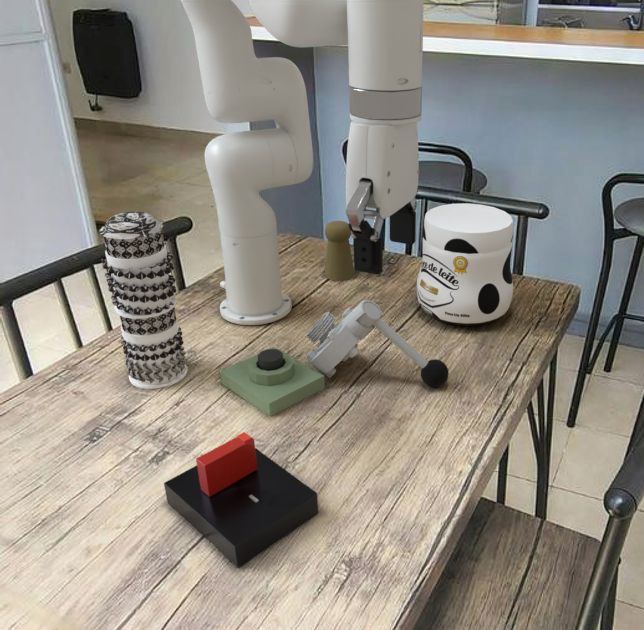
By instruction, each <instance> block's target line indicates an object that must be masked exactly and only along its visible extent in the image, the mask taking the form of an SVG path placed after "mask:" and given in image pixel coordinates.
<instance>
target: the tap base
mask: <svg viewBox="0 0 644 630" xmlns="http://www.w3.org/2000/svg"><path fill="white" fill-rule="evenodd" d="M255 452H256V461H257V470H255V471H254V472H252V473H250V474H248V475H247V476H245V477H243V478H242V479H240V480H238V481H236V482H235V483H233V484H231V485H230V486H228V487H226V488H224V489H223V490H221V491H219V492H217V493H216V494H214V495H212V496H211V497H209V496H208V495H207V494H205V493H204V492H203V491H202V490H201V487H200V481H199V474H198V468H197V465H195V466H193V467H190V468H189V469H187V470H185V471H184V472H182V473H180V474H178V475H176V476H173V478H170V479H169V480H166V481H164V482H163V487H164V491H165V497H166V501H167V504H168V505H170V506H171V508H172V509H174V510H175V511H176V512H178V514H179V515H180V516H181V517H182V518H184V520H185V521H186V522H188V523H189V524H190V525H191V526H192V527H193V528H194V529H195V530H197V532H198V533H200V534H201V535H202V536H203V538H205V539H206V540H207V541H208V542H209V543H211V545H213V547H214V548H216V549H217V550H218V551H219V552H220V553H221V554H222V555H223V556H225V557H226V559H228V560H229V561H230V562H231V563H232V564H233V565H234V566H235V567H236V568H240V567H241V566H242V565H244V564H245V563H247V562H249V561H250V560H251V559H253V558H254V557H256V556H257V555H259V554H260V553H262V552H263V551H264V550H267V548H269V547H270V546H272V545H273V544H275V543H277V542H278V541H279V540H281V539H283V537H285V536H287V535H288V534H289V533H291V532H292V531H294V530H295V529H298V527H300V526H301V525H302V524H304V523H306V522H307V521H308V520H310V519H311V518H314V516H316V515H317V514H319V502H318V501H319V500H318V499H319V498H318V493H317V492H316V491H315V490H314V489H312V488H311V487H309V486H308V485H307V484H306V483H304V482H303V481H302V480H300V479H299V478H297V477H296V476H294V475H293V474H292V473H291V472H289V471H288V470H286V469H285V468H284V467H282V466H281V465H279V464H278V463H277V462H275V461H274V460H273V459H272V458H270V457H269V456H268V455H266V454H264V453H263V452H262V451H260V450H259V449H258V448H257V447H255Z"/></svg>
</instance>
